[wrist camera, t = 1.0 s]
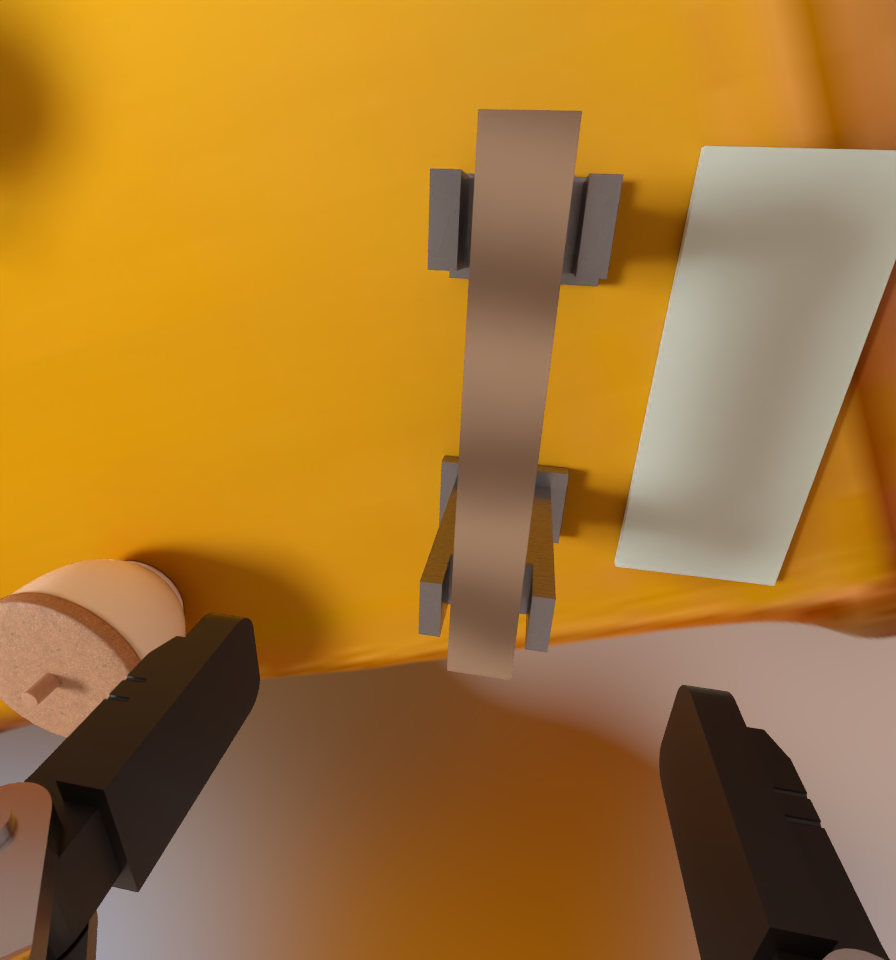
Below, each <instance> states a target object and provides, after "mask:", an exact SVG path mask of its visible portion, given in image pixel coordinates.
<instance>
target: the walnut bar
mask: <svg viewBox="0 0 896 960" xmlns="http://www.w3.org/2000/svg"><path fill="white" fill-rule="evenodd" d="M581 115H582V111H550V110H490V109H478V127H477V145H476V163H475V181H474V198H473V216H472V234H471V252H470V270H469V288H468V306H467V323H466V341H465V359H464V377H463V395H462V413H461V431H460V449H459V466H458V484H457V502H456V520H455V538H454V556H453V574H452V591H451V609H450V627H449V645H448V665H447V670H448V671H455V672H461V673H468V674H475V675H481V676H488V677H495V678H501V679H508V680H511V674H512V665H513V658H514V650H515V642H516V634H517V626H518V618H519V610H520V602H521V594H522V586H523V578H524V570H525V562H526V554H527V546H528V538H529V530H530V522H531V514H532V506H533V498H534V490H535V482H536V474H537V466H538V458H539V450H540V442H541V434H542V426H543V418H544V410H545V402H546V394H547V386H548V378H549V370H550V362H551V354H552V346H553V338H554V330H555V323H556V315H557V307H558V299H559V291H560V283H561V275H562V267H563V259H564V251H565V243H566V235H567V227H568V219H569V211H570V203H571V195H572V187H573V179H574V171H575V163H576V155H577V147H578V139H579V131H580V123H581Z"/></svg>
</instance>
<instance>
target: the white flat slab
mask: <svg viewBox="0 0 896 960" xmlns="http://www.w3.org/2000/svg"><path fill="white" fill-rule="evenodd" d="M895 260H896V150H856V149H814V148H773V147H732V146H704V147H702V148H701V152H700V157H699V162H698V167H697V171H696V176H695V181H694V186H693V190H692V195H691V200H690V205H689V209H688V214H687V219H686V224H685V228H684V233H683V238H682V243H681V247H680V252H679V257H678V262H677V266H676V271H675V276H674V281H673V285H672V290H671V295H670V300H669V304H668V309H667V314H666V319H665V323H664V328H663V333H662V338H661V343H660V347H659V352H658V357H657V362H656V366H655V371H654V376H653V381H652V385H651V390H650V395H649V400H648V404H647V409H646V414H645V419H644V423H643V428H642V433H641V438H640V442H639V447H638V452H637V457H636V461H635V466H634V471H633V476H632V480H631V485H630V490H629V495H628V499H627V504H626V509H625V514H624V519H623V523H622V528H621V533H620V538H619V542H618V547H617V552H616V557H615V561H614V562H615V566H616V567H624V568H632V569H640V570H648V571H657V572H665V573H673V574H681V575H689V576H698V577H706V578H714V579H722V580H730V581H739V582H747V583H755V584H763V585H771V586H775V583H776V580H777V578H778V575H779V572H780V569H781V567H782V564H783V561H784V559H785V556H786V553H787V551H788V548H789V545H790V543H791V540H792V537H793V535H794V532H795V529H796V526H797V524H798V521H799V518H800V516H801V513H802V510H803V508H804V505H805V502H806V500H807V497H808V494H809V491H810V489H811V486H812V483H813V481H814V478H815V475H816V473H817V470H818V467H819V465H820V462H821V459H822V457H823V454H824V451H825V448H826V446H827V443H828V440H829V438H830V435H831V432H832V430H833V427H834V424H835V422H836V419H837V416H838V413H839V411H840V408H841V405H842V403H843V400H844V397H845V395H846V392H847V389H848V387H849V384H850V381H851V379H852V376H853V373H854V370H855V368H856V365H857V362H858V360H859V357H860V354H861V352H862V349H863V346H864V344H865V341H866V338H867V335H868V333H869V330H870V327H871V325H872V322H873V319H874V317H875V314H876V311H877V309H878V306H879V303H880V301H881V298H882V295H883V292H884V290H885V287H886V284H887V282H888V279H889V276H890V274H891V271H892V268H893V266H894V263H895Z"/></svg>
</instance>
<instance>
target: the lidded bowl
mask: <svg viewBox="0 0 896 960" xmlns="http://www.w3.org/2000/svg"><path fill="white" fill-rule="evenodd" d="M175 636H181V637H186V622H185V617H184V605H183V600H182V597H181V595H180V593H179V591H178V589H177V588H176V586H175V585H174V584H173V582H172V581H171V580H170V579H169V578H168V577H167V576H165V575H164V574H163V573H162V572H160V571H159V570H157V569H156V568H154V567H152V566H150V565H147V564H145V563H141V562H137V561H122V560H115V559H91V560H86V561H81V562H76V563H72V564H69V565H66V566H64V567H61V568H59V569H56V570H54V571H51V572H49V573H47V574H45V575H43V576H41V577H39V578H37V579H35V580H33V581H31V582H30V583H28V584H26V585H25V586H23V587H21V588H20V589H18V590H17V591H16V592H14V593H13V594H11V595H9V596H6V597H4V598H2V599H0V698H1V699H2V700H3V701H4V702H5V703H6V704H7V705H8V706H9V707H11V708H12V709H13V710H14V711H16V712H17V713H19V714H20V715H21V716H23V717H24V718H26V719H27V720H29V721H31V722H32V723H34V724H35V725H38V726H39V727H42V728H43V729H45V730H48V731H50V732H52V733H55V734H58V735H60V736H63V737H68V736H69V735H70V734H71V733H72V732H73V731H74V730H75V729H76V728H77V727H78V726H79V725H80V724H81V723H82V722H83V721H84V720H85V719H86V718H87V717H88V716H89V714H90V713H91V712H92V711H93V710H94V709H95V708H96V707H97V706H98V705H99V704H100V703H101V702H102V701H103V700H104V699H108V697H109V694H110V693H111V692H112V691H113V689H114V688H115V687H116V686H117V685H118V684H119V683H120V682H121V681H122V680H126V679H127V675H128V674H129V673H130V672H131V671H132V670H133V669H134V668H135V667H136V666H137V665H138V663H139V662H140V661H141V660H142V659H143V658H144V657H145V656H146V655H147V654H148V653H149V652H151V651H153V650H154V649H156V648H158V647H159V646H161V645H162V644H164V643H166V642H167V641H169V640H171V639H172V638H174V637H175Z"/></svg>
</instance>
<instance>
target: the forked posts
mask: <svg viewBox="0 0 896 960" xmlns="http://www.w3.org/2000/svg"><path fill="white" fill-rule="evenodd" d="M474 181H475V174H466V173H465V172H463V171H462V170H460V169H430V200H429V241H428V270H445V271H450V276H449V278H463V279H469V270H470V252H471V234H472V216H473V198H474ZM622 181H623V175H620V174H589V176H588V177H574V179H573V187H572V195H571V203H570V211H569V219H568V227H567V235H566V243H565V251H564V259H563V267H562V275H561V283H560V284H568V285H585V286H598V282H599V279H607V274H608V268H609V262H610V256H611V249H612V243H613V237H614V231H615V224H616V218H617V212H618V206H619V199H620V193H621V187H622ZM458 466H459V457H452V456H444V458H443V460H442V470H441V494H440V518H439V529H438V532H437V535H436V537H435V540H434V543H433V546H432V549H431V552H430V555H429V557H428V560H427V563H426V566H425V569H424V572H423V574H422V577H421V580H420V604H419V634H423V635H430V636H437V637H440V633H441V629H442V625H443V621H444V617H445V613H446V610H447V606H448V604H451V591H452V574H453V556H454V538H455V520H456V502H457V484H458ZM568 477H569V471H568V468H562V467H552V466H542V465H538V466H537V474H536V482H535V490H534V498H533V506H532V514H531V522H530V530H529V538H528V546H527V554H526V562H525V570H524V578H523V586H522V594H521V602H520V610H519V613H520V614H526V640H525V649H527V650H535V651H541V652H547V650H548V644H549V638H550V631H551V625H552V619H553V613H554V606H555V600H556V597H555V575H554V552H553V543H558V542H559V535H560V529H561V522H562V516H563V509H564V503H565V496H566V490H567V483H568Z"/></svg>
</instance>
